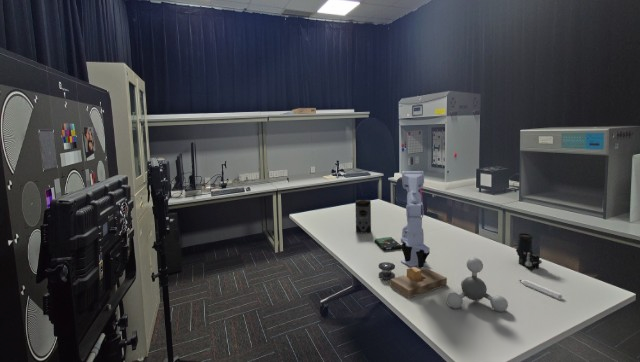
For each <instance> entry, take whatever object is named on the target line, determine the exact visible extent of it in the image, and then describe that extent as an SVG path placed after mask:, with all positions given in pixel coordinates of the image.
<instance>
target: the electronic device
mask: <svg viewBox="0 0 640 362" xmlns="http://www.w3.org/2000/svg"><path fill="white" fill-rule="evenodd" d="M371 202H372V201H371V200H370V199H356V200H355V232H356V233H357V234H371V233H372V208H371V207H372V203H371Z"/></svg>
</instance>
